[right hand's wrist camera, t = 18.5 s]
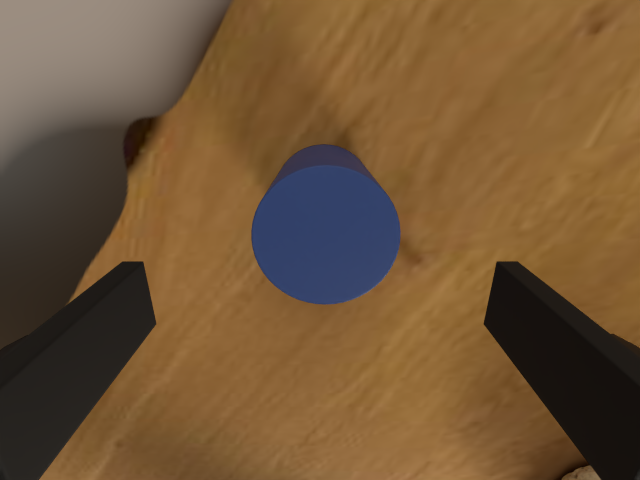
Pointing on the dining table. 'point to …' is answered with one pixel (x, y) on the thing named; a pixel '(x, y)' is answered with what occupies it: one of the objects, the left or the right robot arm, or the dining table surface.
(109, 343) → the right robot arm
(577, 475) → the bowl
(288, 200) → the cylinder
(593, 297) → the dining table surface
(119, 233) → the dining table surface
